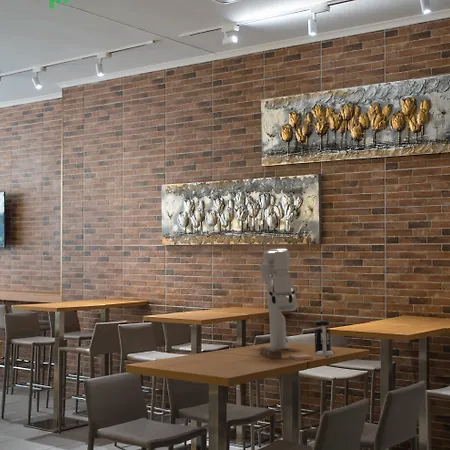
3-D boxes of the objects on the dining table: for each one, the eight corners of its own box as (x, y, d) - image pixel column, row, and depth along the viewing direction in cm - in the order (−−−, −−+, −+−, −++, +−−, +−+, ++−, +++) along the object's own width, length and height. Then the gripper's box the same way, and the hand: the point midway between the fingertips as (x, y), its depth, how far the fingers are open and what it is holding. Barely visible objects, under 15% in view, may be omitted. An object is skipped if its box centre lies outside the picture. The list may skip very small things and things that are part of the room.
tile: (289, 355, 401) (296, 357, 392) (305, 354, 404) (312, 356, 394) (290, 359, 401) (296, 361, 392) (305, 357, 404) (312, 360, 394)
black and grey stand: (314, 356, 407) (313, 328, 408) (317, 353, 417) (316, 326, 417) (332, 356, 405) (331, 328, 405) (335, 353, 414) (334, 326, 415)
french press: (319, 349, 435) (317, 309, 436) (334, 350, 430) (332, 310, 431) (310, 351, 425) (309, 311, 426) (326, 352, 420) (324, 311, 421)
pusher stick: (257, 354, 422) (257, 347, 423) (267, 353, 424) (267, 346, 424) (271, 359, 400) (270, 351, 400) (281, 358, 402) (281, 350, 402)
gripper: (268, 273, 419) (269, 304, 418) (297, 272, 423) (298, 302, 422) (264, 273, 426) (265, 303, 425) (293, 272, 431) (294, 302, 430)
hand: (282, 303), depth 424 cm, fingers open, 9 cm apart
